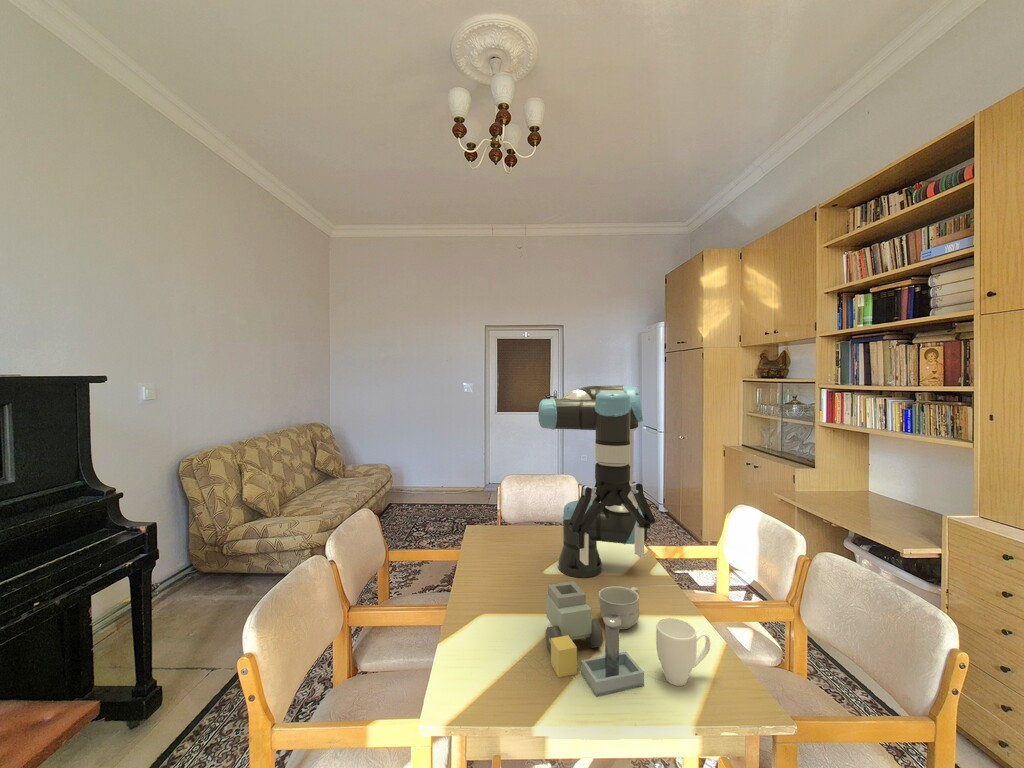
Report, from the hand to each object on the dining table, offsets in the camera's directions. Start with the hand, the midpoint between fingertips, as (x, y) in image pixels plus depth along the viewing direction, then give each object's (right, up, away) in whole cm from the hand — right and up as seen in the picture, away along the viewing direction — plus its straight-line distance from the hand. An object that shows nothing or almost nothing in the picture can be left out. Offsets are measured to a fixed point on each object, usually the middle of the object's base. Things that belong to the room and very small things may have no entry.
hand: (612, 559), depth 95 cm
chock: (-10, -27, +4) cm, 29 cm away
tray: (0, -27, 0) cm, 27 cm away
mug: (+16, -27, +1) cm, 31 cm away
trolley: (-8, -27, +14) cm, 31 cm away
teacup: (+8, -27, +23) cm, 37 cm away
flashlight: (0, -26, 0) cm, 26 cm away
